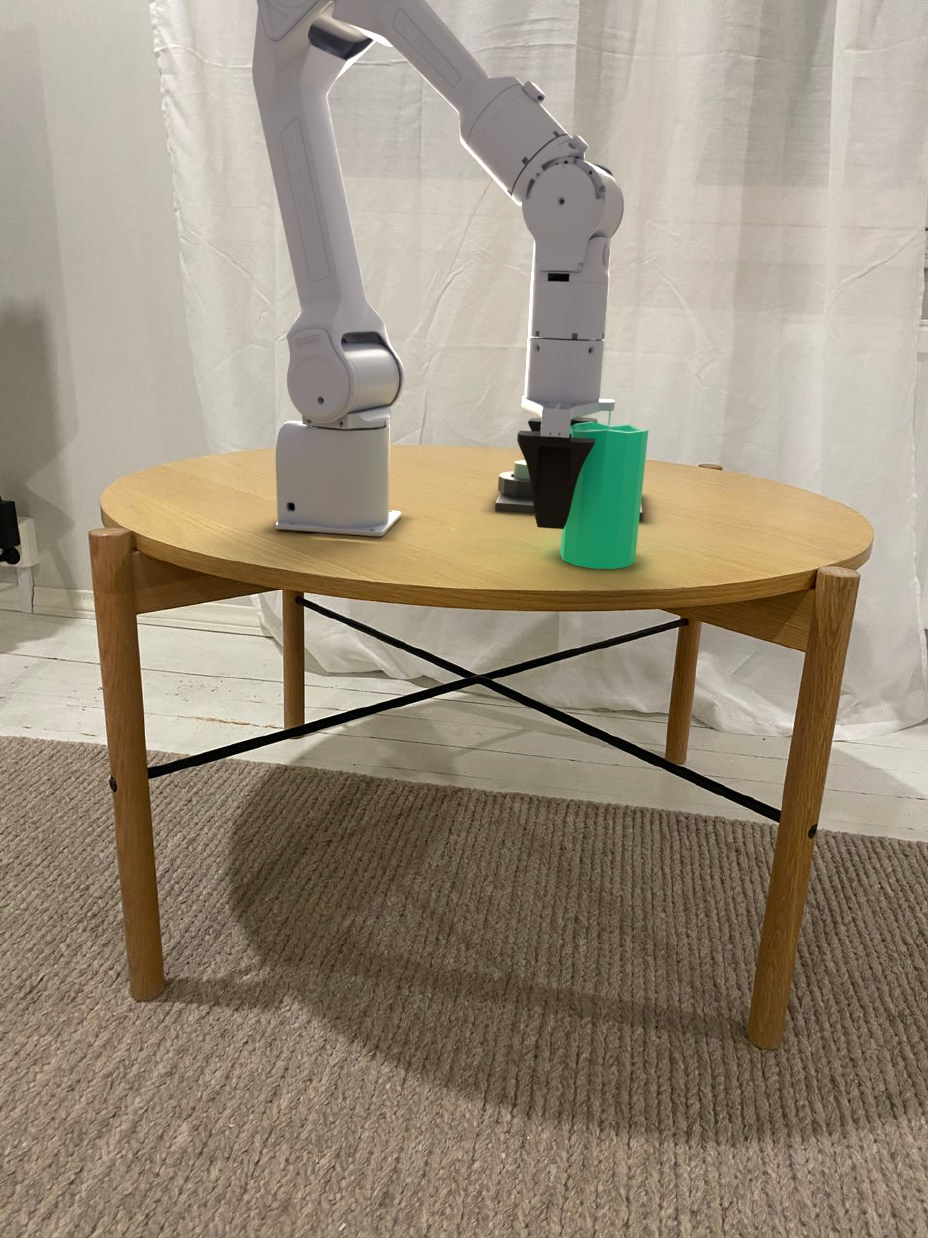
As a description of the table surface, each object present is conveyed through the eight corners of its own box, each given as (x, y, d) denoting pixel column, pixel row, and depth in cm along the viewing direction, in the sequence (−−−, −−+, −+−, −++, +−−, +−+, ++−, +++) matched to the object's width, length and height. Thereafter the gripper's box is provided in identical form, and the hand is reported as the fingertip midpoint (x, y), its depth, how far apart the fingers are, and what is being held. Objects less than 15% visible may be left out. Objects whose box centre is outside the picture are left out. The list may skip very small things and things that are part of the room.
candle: (633, 572, 71) (650, 413, 67) (556, 565, 72) (567, 408, 68) (635, 552, 76) (651, 404, 72) (563, 545, 77) (574, 400, 73)
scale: (491, 511, 89) (492, 485, 88) (504, 487, 100) (505, 464, 99) (642, 521, 87) (644, 495, 86) (638, 495, 98) (641, 472, 97)
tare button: (512, 481, 92) (513, 463, 91) (514, 476, 95) (515, 459, 94) (540, 483, 92) (541, 465, 91) (542, 478, 94) (543, 460, 94)
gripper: (620, 345, 62) (603, 542, 66) (619, 336, 75) (605, 500, 80) (515, 341, 63) (506, 535, 67) (533, 332, 76) (524, 494, 81)
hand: (553, 516), depth 73 cm, fingers open, 7 cm apart
